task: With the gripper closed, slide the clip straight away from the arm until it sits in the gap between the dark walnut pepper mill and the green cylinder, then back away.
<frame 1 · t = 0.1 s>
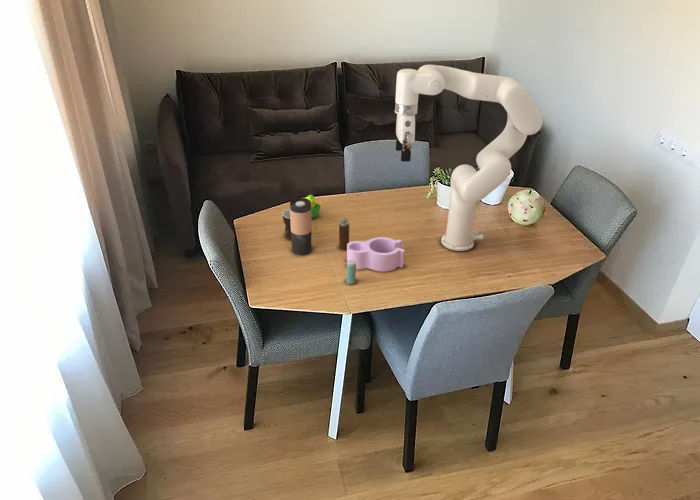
hand: (402, 155, 206), 37 cm above the table, tool pointing down, fingers open, 9 cm apart
fruit basket: (306, 218, 242), on the table
coffee mug: (295, 234, 231), on the table
clip: (374, 262, 214), on the table
green cylinder: (351, 281, 204), on the table
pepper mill: (344, 247, 223), on the table
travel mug: (301, 250, 221), on the table
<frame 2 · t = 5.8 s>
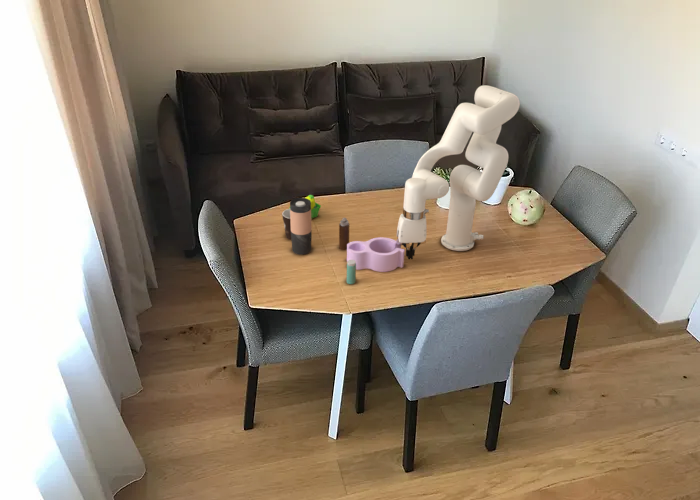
hand: (409, 257, 215), 2 cm above the table, tool pointing down, fingers closed
clip: (374, 263, 214), on the table, touching gripper
everything else where it was.
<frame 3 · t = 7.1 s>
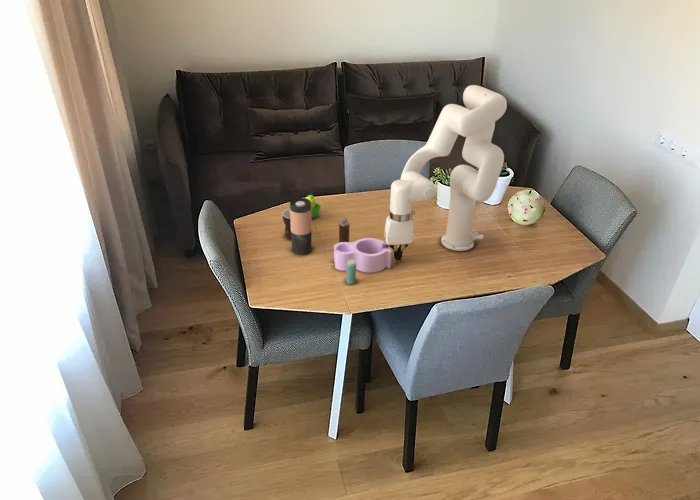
hand: (397, 258, 215), 1 cm above the table, tool pointing down, fingers closed
clip: (362, 263, 214), on the table, touching gripper
everything else where it was.
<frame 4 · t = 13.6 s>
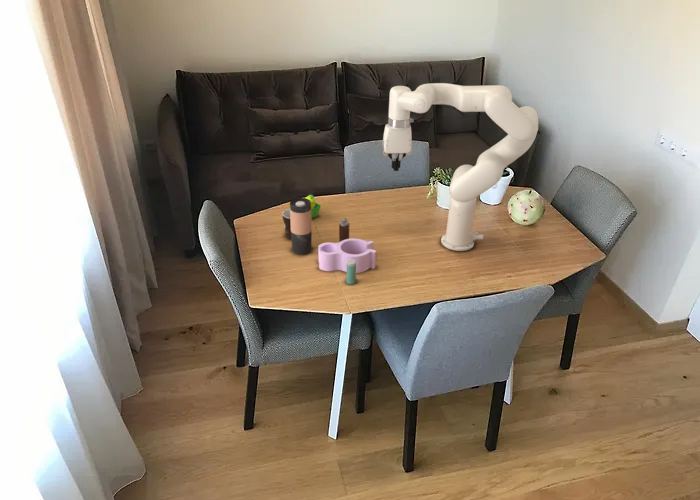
hand: (395, 169, 219), 27 cm above the table, tool pointing down, fingers closed
clip: (346, 264, 213), on the table
everything else where it was.
at the end: clip 0.2 cm from the target spot, on the table; clip tilted 0° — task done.
